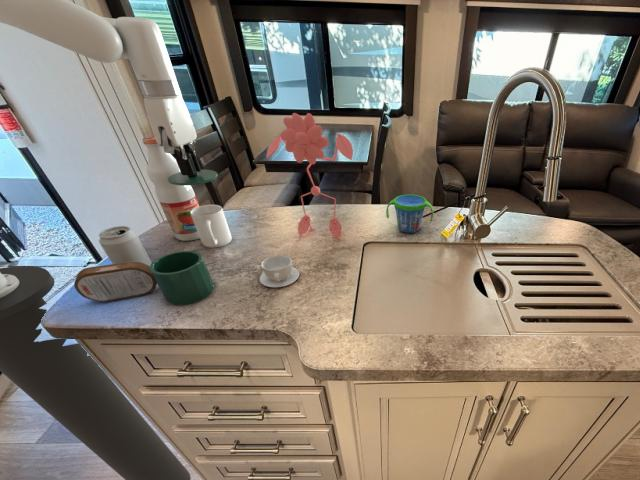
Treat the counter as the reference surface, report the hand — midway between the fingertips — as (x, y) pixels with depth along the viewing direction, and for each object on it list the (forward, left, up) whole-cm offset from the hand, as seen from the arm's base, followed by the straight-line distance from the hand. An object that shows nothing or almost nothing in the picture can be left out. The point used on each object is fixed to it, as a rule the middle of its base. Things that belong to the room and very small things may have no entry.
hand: (191, 172), depth 84 cm
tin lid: (0, 0, -1) cm, 1 cm away
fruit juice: (-8, +9, -21) cm, 25 cm away
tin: (-18, -22, -21) cm, 35 cm away
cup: (0, 0, -21) cm, 21 cm away
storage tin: (-4, -24, -21) cm, 32 cm away
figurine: (+29, -6, -21) cm, 36 cm away
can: (-18, -11, -21) cm, 30 cm away
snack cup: (+60, -6, -21) cm, 64 cm away
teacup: (+17, -24, -21) cm, 36 cm away
